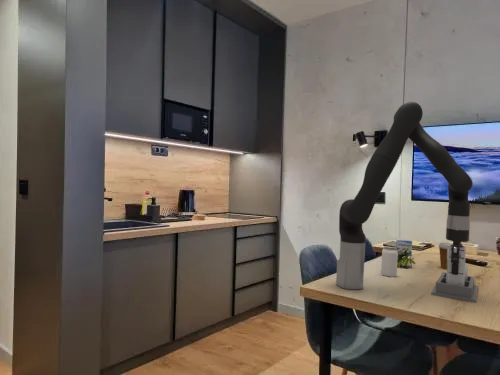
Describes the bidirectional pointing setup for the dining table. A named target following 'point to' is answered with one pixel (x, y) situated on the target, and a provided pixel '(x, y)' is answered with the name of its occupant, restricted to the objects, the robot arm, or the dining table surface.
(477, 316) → the dining table surface
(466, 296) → the housing
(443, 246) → the disposable coffee cup
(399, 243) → the medicine box
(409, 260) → the passion flower
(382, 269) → the can
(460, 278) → the syrup box
